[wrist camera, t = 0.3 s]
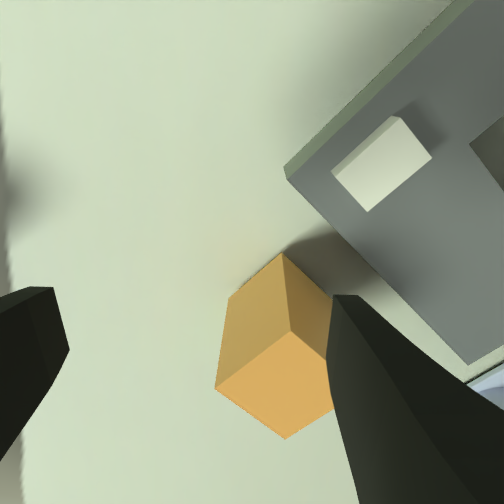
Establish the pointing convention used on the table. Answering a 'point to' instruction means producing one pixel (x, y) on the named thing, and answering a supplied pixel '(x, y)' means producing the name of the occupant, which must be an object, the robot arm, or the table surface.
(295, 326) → the plug
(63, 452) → the table surface
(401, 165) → the socket plate
